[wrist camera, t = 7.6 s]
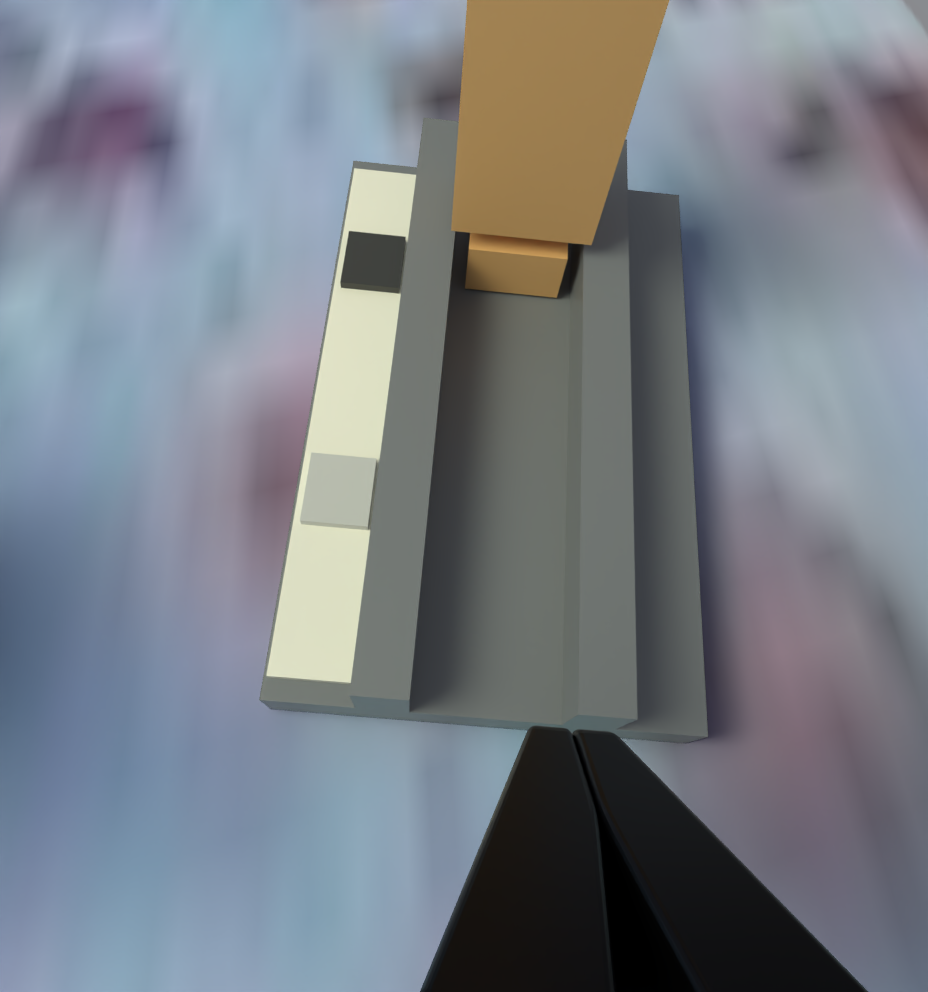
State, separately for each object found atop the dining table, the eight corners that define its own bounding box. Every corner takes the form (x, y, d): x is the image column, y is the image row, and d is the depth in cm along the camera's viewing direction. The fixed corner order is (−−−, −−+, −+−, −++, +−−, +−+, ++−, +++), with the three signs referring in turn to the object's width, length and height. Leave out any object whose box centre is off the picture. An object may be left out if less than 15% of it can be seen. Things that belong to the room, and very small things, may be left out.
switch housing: (685, 743, 18) (740, 727, 15) (270, 709, 18) (243, 686, 15) (663, 230, 25) (699, 147, 22) (356, 198, 24) (349, 109, 21)
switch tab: (574, 299, 21) (732, -201, 11) (446, 286, 21) (483, -232, 11) (575, 233, 22) (722, -285, 12) (453, 220, 22) (493, -313, 12)
